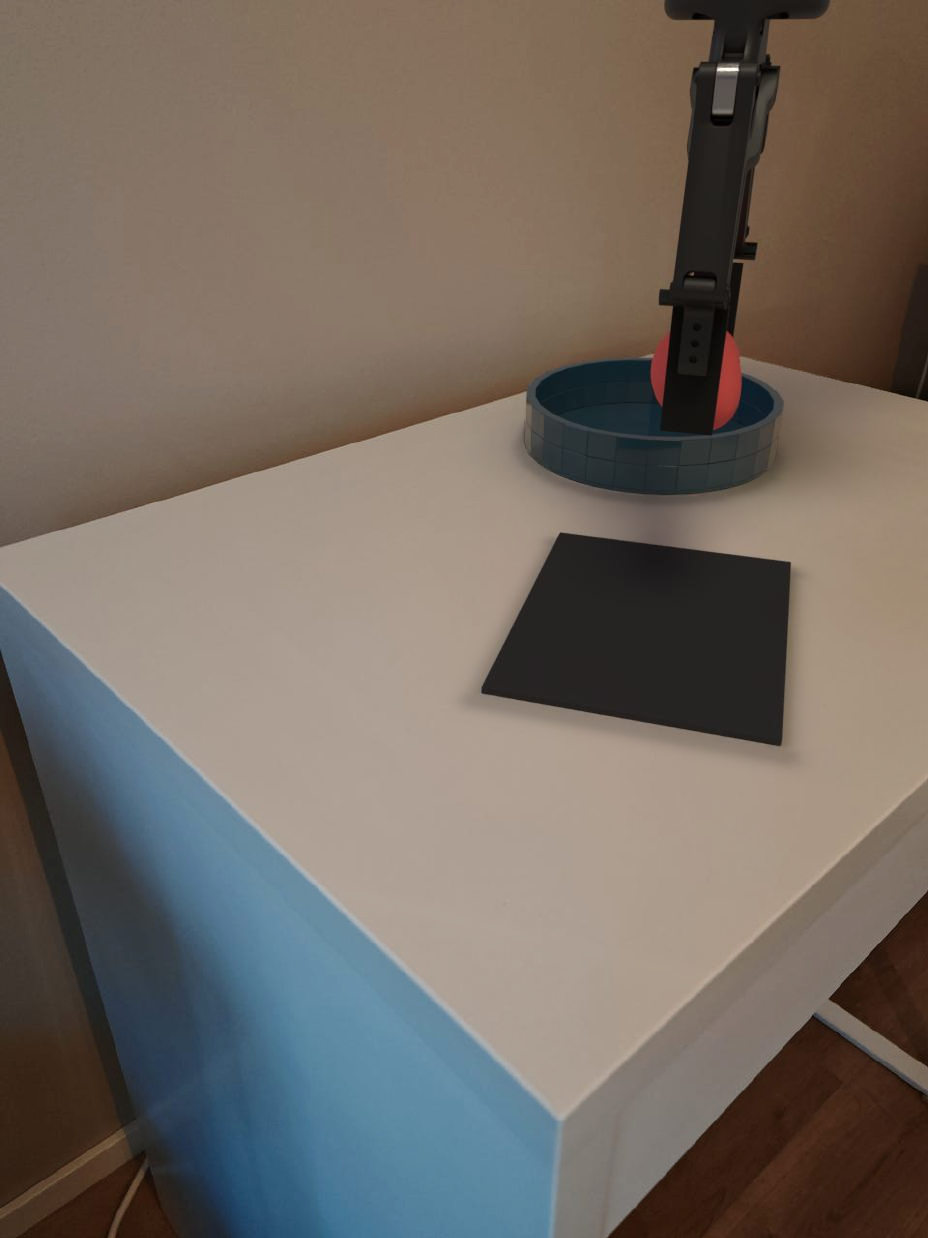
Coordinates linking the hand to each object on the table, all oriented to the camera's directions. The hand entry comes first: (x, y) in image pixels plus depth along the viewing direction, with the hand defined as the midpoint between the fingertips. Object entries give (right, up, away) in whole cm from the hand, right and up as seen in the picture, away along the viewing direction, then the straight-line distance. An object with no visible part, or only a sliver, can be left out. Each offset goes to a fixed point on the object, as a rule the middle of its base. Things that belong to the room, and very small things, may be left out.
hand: (696, 399), depth 55 cm
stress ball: (0, -1, +1) cm, 1 cm away
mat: (-2, -13, +4) cm, 14 cm away
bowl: (+3, +3, +30) cm, 30 cm away
